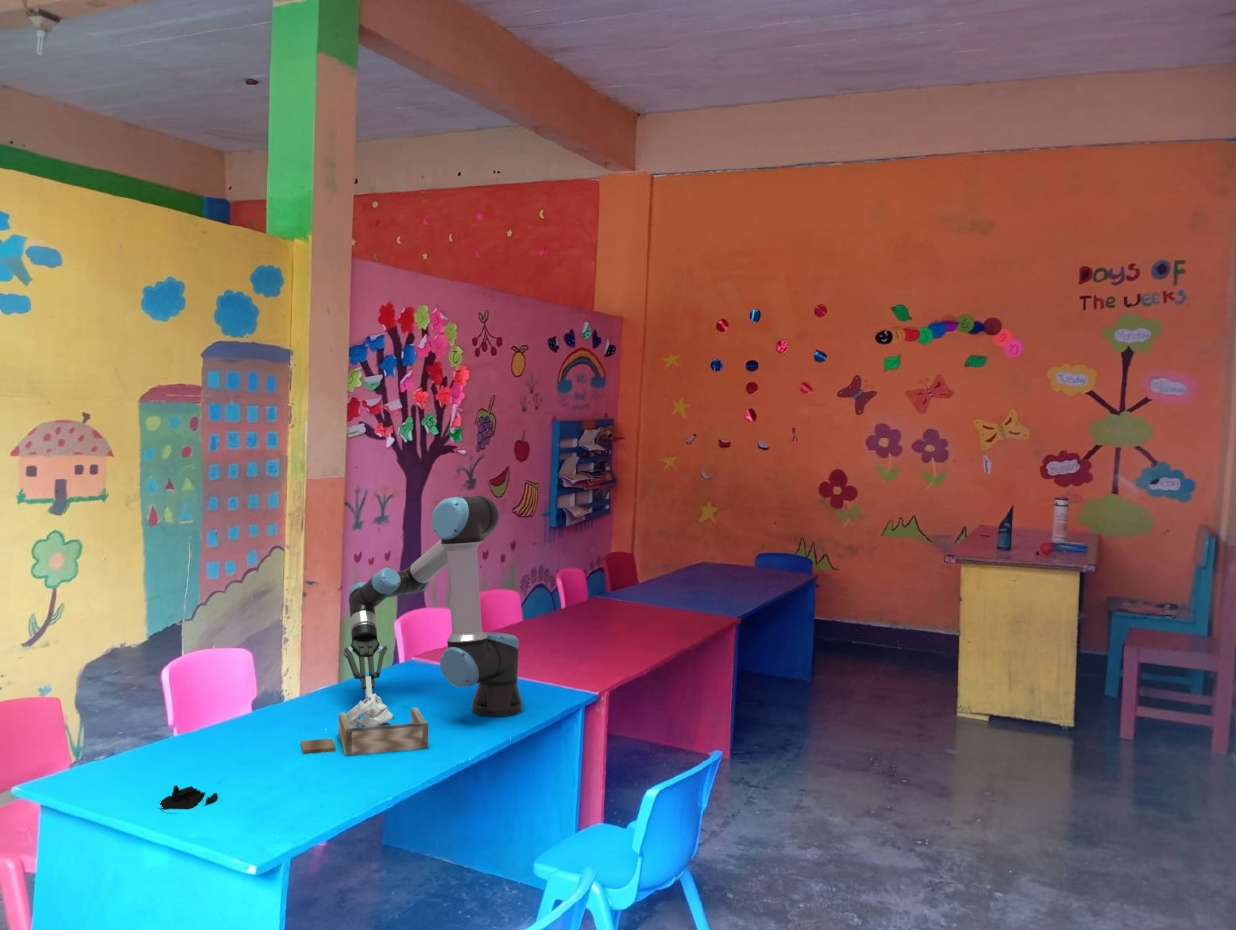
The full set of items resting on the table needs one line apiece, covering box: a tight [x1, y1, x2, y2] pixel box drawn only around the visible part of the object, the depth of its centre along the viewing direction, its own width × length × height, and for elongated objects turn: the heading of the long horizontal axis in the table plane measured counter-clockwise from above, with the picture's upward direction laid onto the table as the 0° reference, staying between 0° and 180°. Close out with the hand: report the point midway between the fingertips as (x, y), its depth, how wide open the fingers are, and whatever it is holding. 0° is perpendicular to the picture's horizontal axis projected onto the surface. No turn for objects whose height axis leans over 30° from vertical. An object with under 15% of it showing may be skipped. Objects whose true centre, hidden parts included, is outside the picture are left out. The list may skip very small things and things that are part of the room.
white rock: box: [345, 692, 396, 728], centre depth 278 cm, size 12×9×10 cm
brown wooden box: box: [337, 707, 429, 756], centre depth 265 cm, size 21×18×7 cm
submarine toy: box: [157, 784, 219, 815], centre depth 218 cm, size 12×10×5 cm
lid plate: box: [300, 738, 336, 755], centre depth 258 cm, size 8×8×2 cm
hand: (369, 698), depth 288 cm, fingers closed
